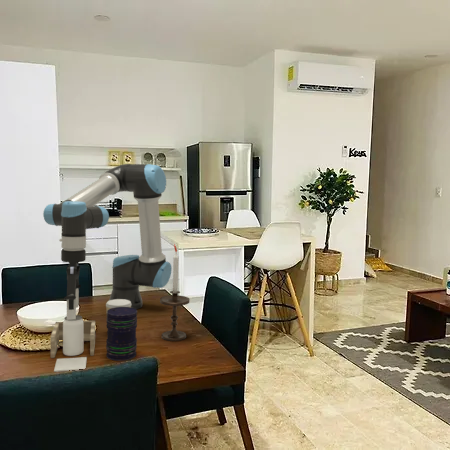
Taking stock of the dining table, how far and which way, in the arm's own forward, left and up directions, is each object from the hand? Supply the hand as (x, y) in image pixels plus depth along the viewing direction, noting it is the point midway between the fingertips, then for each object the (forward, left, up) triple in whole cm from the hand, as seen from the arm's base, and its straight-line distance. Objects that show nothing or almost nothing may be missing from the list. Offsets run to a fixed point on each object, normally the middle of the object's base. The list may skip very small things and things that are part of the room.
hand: (72, 313), depth 150 cm
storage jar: (+4, +16, -14) cm, 21 cm away
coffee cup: (-17, +15, -14) cm, 27 cm away
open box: (-4, 0, -14) cm, 14 cm away
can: (0, 0, -14) cm, 14 cm away
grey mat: (+10, 0, -14) cm, 17 cm away
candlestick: (-10, +35, -14) cm, 39 cm away
